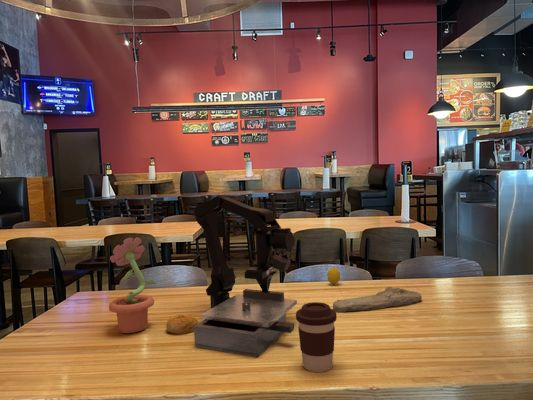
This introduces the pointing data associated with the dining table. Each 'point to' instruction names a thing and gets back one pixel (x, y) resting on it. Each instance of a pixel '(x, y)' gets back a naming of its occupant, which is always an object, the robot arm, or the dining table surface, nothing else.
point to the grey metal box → (239, 336)
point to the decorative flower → (133, 305)
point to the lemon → (333, 275)
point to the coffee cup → (316, 335)
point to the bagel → (181, 324)
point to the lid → (251, 308)
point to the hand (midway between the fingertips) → (265, 293)
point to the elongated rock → (378, 300)
